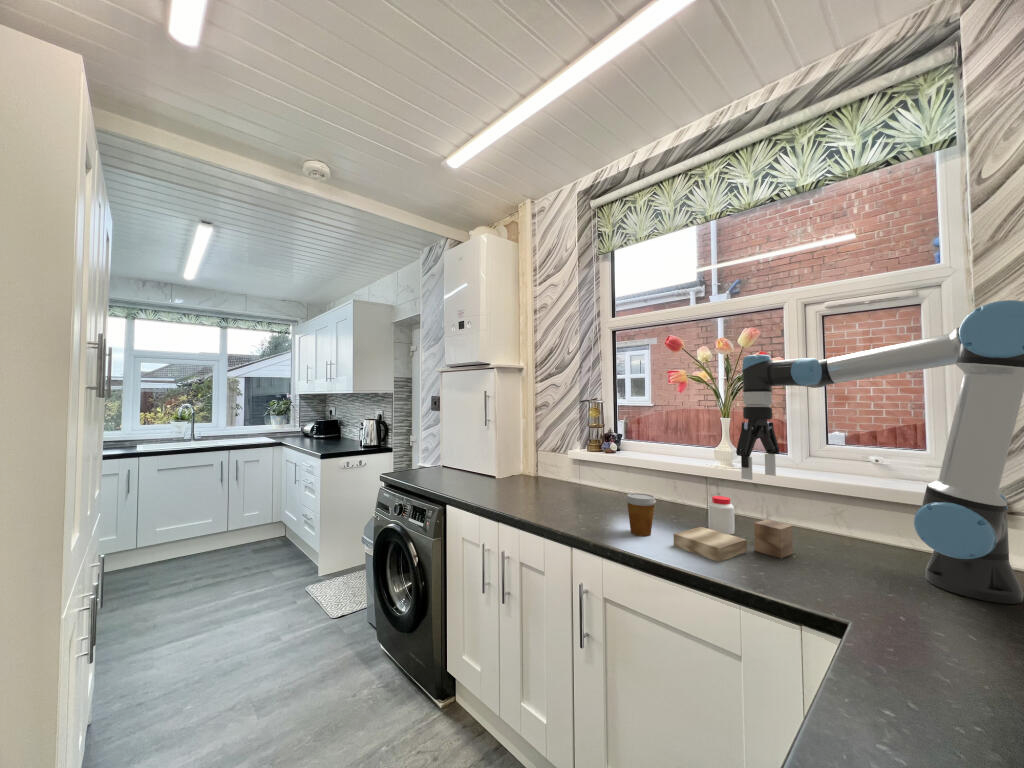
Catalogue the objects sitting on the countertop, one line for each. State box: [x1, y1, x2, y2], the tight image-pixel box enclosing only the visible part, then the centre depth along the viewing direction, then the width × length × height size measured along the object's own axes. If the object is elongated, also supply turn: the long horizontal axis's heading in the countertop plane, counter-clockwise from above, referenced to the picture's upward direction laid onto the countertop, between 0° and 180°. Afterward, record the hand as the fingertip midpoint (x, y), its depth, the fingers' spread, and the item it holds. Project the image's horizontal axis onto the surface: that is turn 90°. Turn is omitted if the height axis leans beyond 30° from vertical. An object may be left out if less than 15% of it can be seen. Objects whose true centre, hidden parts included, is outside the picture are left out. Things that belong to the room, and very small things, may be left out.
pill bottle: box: [707, 495, 735, 535], centre depth 137 cm, size 8×8×11 cm
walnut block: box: [754, 519, 794, 559], centre depth 118 cm, size 7×7×8 cm
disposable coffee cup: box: [625, 492, 657, 537], centre depth 133 cm, size 10×10×12 cm
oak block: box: [673, 526, 748, 563], centre depth 119 cm, size 14×14×4 cm
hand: (759, 477), depth 122 cm, fingers open, 13 cm apart
